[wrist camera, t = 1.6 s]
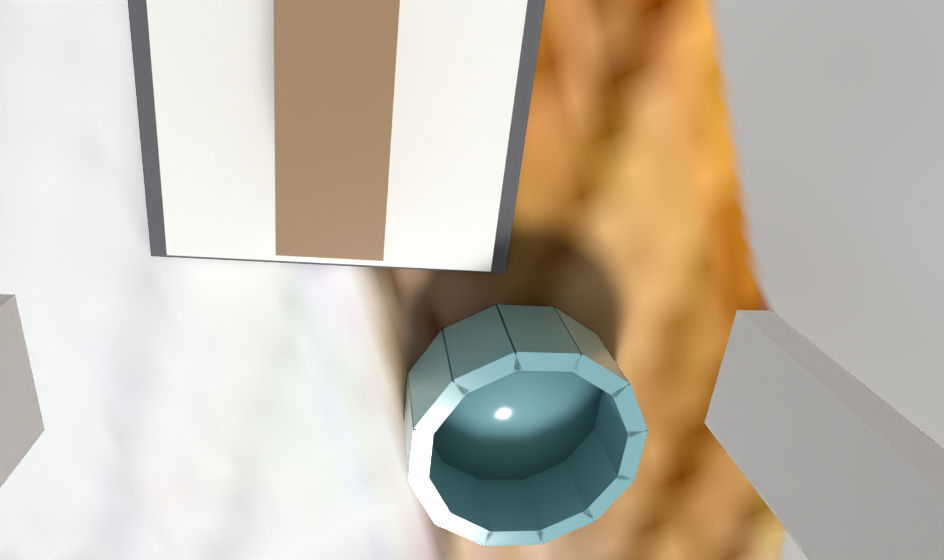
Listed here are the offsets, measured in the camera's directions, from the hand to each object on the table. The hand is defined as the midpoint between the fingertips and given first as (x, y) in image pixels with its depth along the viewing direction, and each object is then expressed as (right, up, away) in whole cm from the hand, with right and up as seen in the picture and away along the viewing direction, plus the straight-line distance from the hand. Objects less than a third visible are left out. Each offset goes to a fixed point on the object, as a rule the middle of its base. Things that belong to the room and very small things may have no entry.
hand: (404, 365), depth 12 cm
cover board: (-4, +10, +16) cm, 19 cm away
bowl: (+3, -5, +25) cm, 25 cm away
